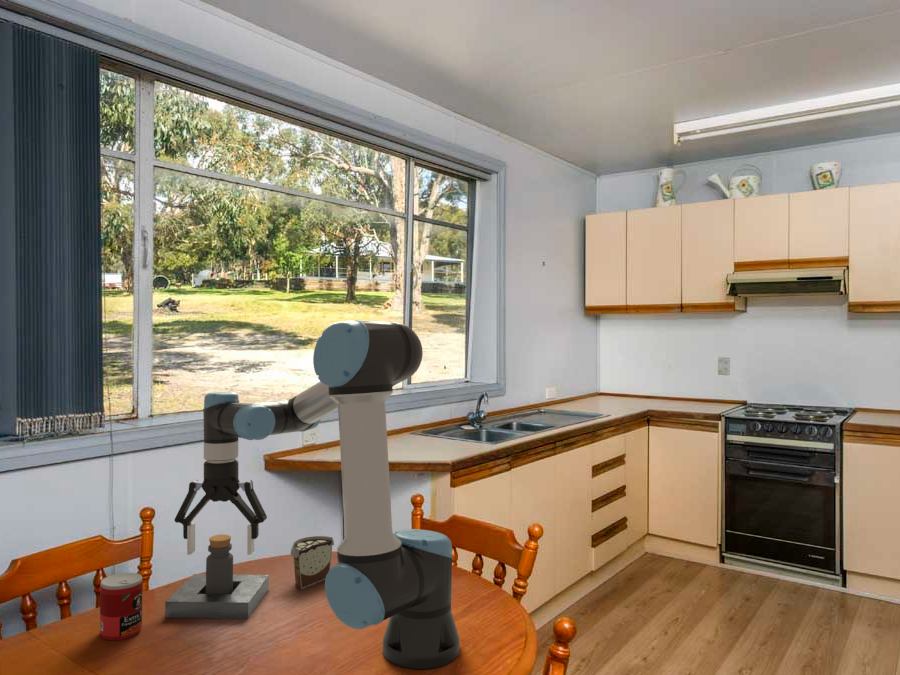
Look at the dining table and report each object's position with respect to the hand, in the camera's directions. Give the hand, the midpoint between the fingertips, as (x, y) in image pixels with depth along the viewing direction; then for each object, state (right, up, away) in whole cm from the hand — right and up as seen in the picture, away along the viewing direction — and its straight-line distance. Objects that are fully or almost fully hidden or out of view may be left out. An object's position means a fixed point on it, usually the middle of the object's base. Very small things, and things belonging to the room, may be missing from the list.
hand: (221, 553), depth 149 cm
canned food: (-15, -12, -15) cm, 24 cm away
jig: (0, -12, 0) cm, 12 cm away
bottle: (-1, -12, 0) cm, 12 cm away
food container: (+17, -12, +14) cm, 25 cm away
